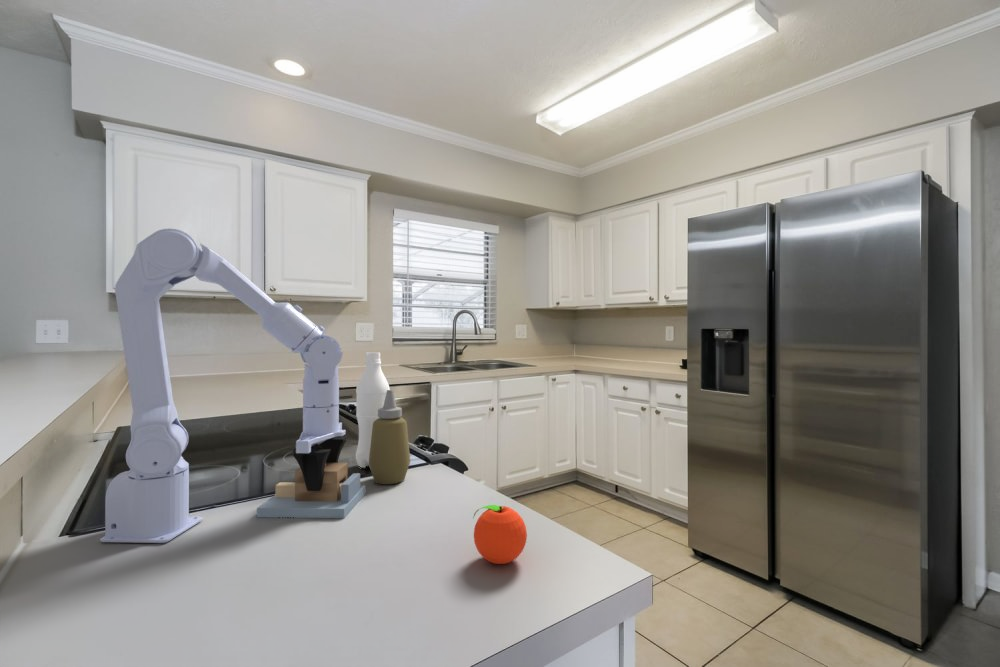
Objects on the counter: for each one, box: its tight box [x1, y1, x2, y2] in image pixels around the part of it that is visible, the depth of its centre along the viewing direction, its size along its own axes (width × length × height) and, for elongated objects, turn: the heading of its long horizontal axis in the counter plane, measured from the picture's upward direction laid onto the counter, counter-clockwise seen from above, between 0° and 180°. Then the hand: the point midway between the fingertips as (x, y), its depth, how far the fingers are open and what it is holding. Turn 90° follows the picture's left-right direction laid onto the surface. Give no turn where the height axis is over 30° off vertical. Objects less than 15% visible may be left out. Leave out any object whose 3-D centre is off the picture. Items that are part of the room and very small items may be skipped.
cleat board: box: [256, 472, 366, 519], centre depth 78 cm, size 14×11×4 cm
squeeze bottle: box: [368, 389, 411, 485], centre depth 91 cm, size 8×8×18 cm
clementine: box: [472, 504, 528, 565], centre depth 60 cm, size 8×7×7 cm
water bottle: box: [355, 351, 391, 468], centre depth 100 cm, size 7×7×25 cm
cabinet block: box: [294, 462, 349, 502], centre depth 78 cm, size 7×5×6 cm
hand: (320, 484), depth 78 cm, fingers closed on cabinet block, 5 cm apart
